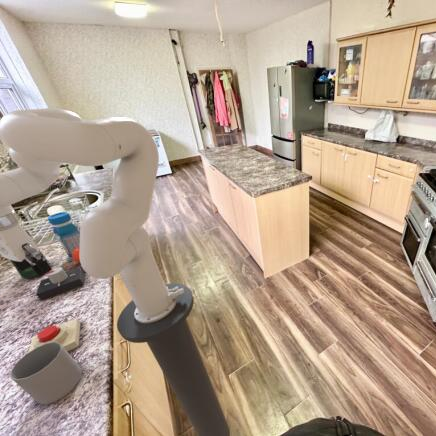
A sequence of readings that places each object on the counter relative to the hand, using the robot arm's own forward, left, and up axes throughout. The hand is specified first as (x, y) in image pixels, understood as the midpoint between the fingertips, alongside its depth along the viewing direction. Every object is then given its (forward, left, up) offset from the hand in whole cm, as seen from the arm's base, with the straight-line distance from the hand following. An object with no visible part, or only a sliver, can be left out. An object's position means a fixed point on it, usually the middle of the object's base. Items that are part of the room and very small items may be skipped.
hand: (36, 270), depth 71 cm
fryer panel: (+1, -14, -16) cm, 21 cm away
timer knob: (+1, -14, -13) cm, 19 cm away
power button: (0, +17, -12) cm, 21 cm away
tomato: (-6, -28, -16) cm, 33 cm away
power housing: (0, +17, -16) cm, 23 cm away
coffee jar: (+11, -33, -16) cm, 38 cm away
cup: (-2, +32, -16) cm, 36 cm away
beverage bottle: (-3, -37, -16) cm, 40 cm away
